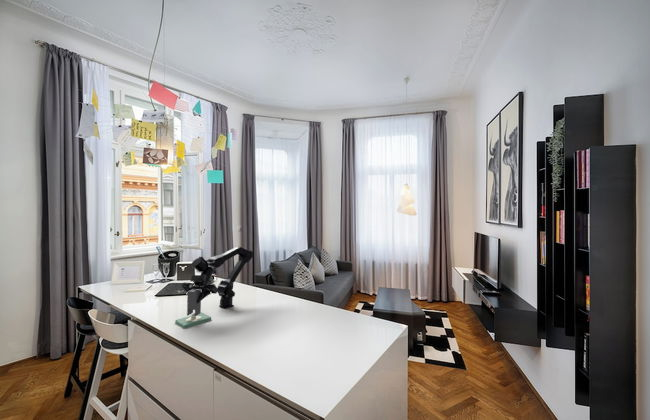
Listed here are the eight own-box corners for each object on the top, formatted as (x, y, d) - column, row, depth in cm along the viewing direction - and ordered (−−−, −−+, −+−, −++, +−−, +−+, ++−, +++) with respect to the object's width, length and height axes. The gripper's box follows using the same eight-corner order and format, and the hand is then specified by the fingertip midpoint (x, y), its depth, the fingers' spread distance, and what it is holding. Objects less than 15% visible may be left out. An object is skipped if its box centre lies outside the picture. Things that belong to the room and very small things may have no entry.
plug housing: (191, 312, 141) (192, 289, 141) (200, 313, 140) (201, 289, 141) (187, 315, 137) (187, 291, 137) (195, 316, 136) (196, 292, 137)
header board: (201, 315, 147) (202, 308, 147) (211, 319, 141) (211, 312, 141) (175, 323, 136) (175, 315, 136) (184, 328, 130) (184, 320, 130)
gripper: (183, 267, 144) (168, 293, 133) (215, 269, 142) (202, 296, 131) (192, 278, 152) (179, 304, 141) (222, 280, 149) (211, 306, 138)
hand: (192, 302), depth 137 cm, fingers closed on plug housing, 5 cm apart
